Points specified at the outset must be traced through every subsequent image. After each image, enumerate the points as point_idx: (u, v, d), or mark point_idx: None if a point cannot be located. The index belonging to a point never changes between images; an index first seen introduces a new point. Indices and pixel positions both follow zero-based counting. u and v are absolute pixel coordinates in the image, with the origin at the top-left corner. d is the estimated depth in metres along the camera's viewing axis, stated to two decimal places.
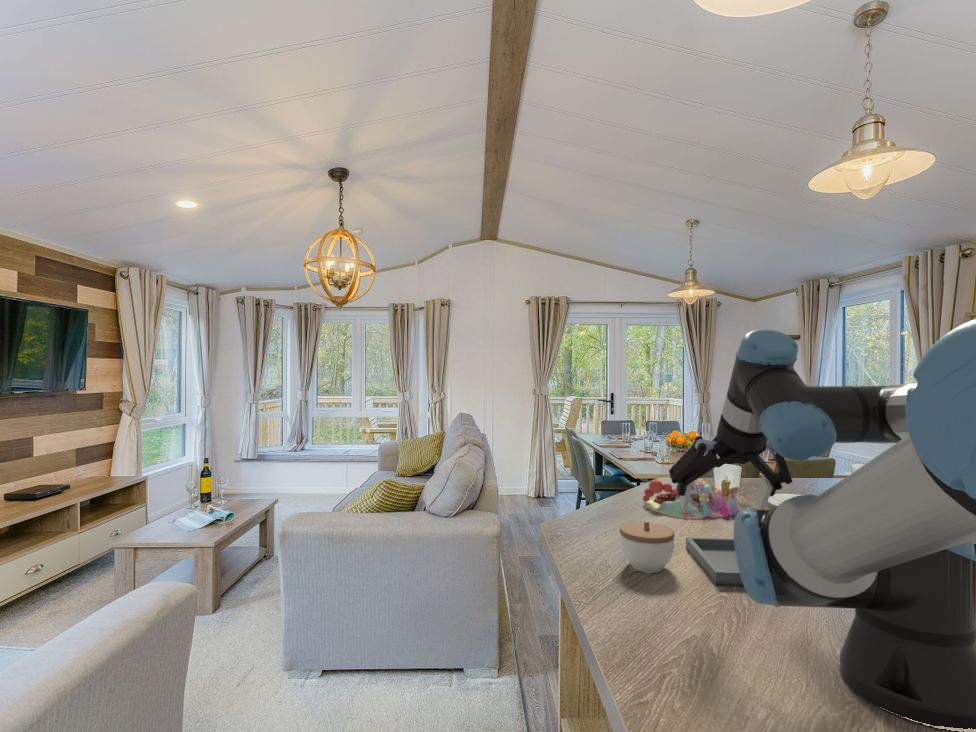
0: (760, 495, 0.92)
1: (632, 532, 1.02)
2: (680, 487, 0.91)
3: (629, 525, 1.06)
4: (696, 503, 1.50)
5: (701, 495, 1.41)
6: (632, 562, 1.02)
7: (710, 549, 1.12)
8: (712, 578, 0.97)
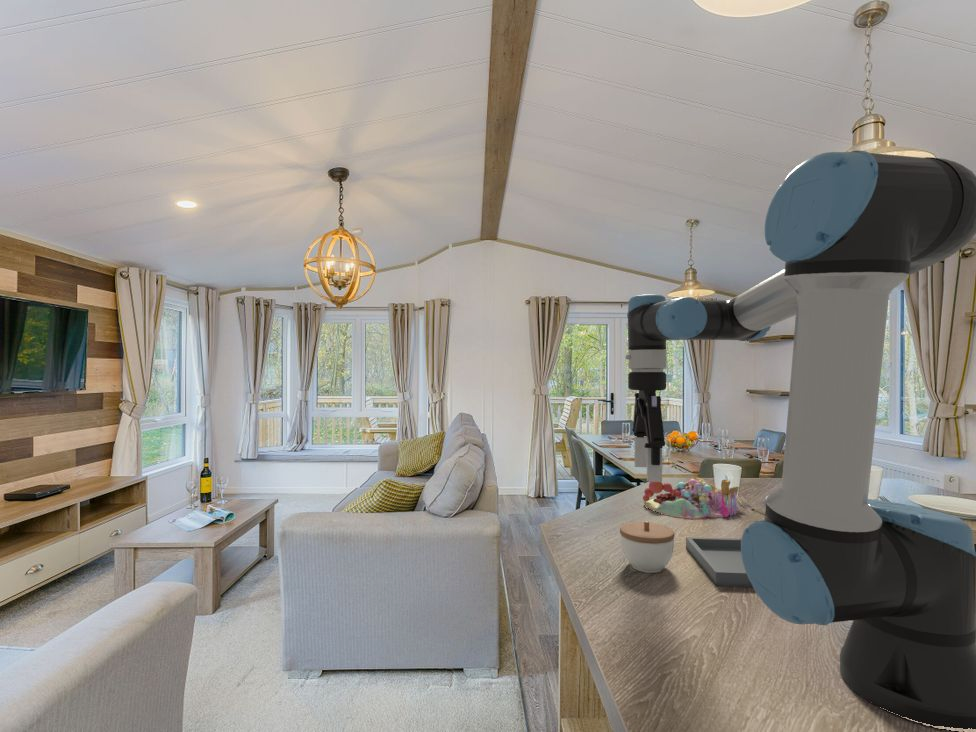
0: (641, 454, 1.11)
1: (632, 532, 1.02)
2: (659, 453, 0.96)
3: (629, 525, 1.06)
4: (696, 502, 1.50)
5: (701, 495, 1.42)
6: (632, 562, 1.02)
7: (710, 549, 1.12)
8: (712, 578, 0.97)
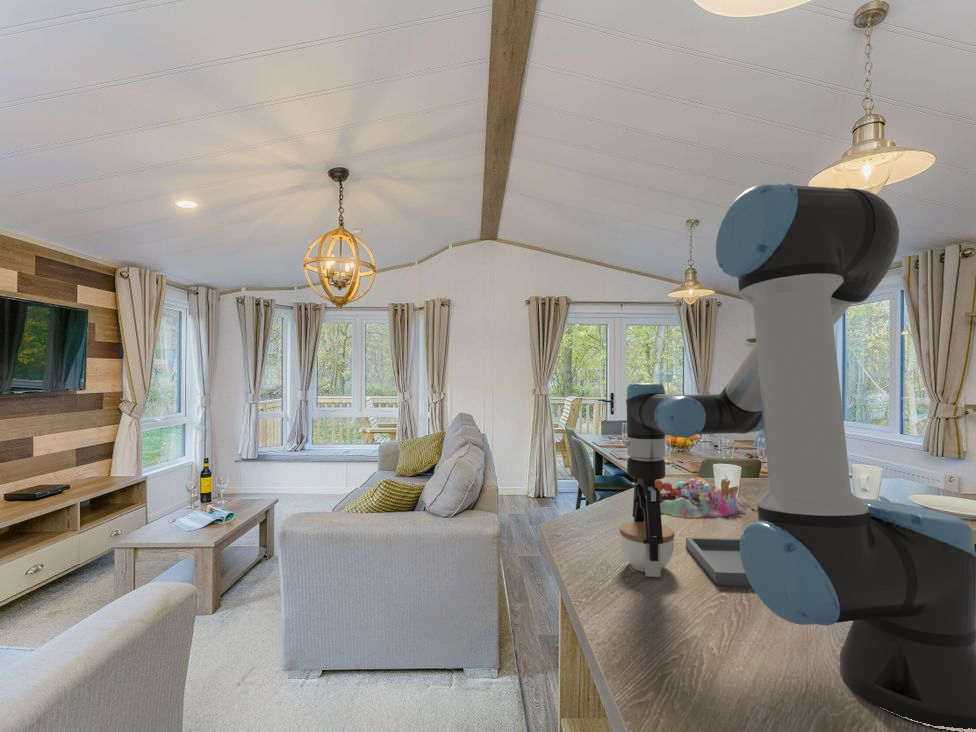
0: None
1: (632, 532, 1.02)
2: (657, 549, 0.97)
3: (629, 525, 1.06)
4: (696, 502, 1.51)
5: (701, 494, 1.43)
6: (632, 562, 1.02)
7: (710, 549, 1.12)
8: (712, 578, 0.97)
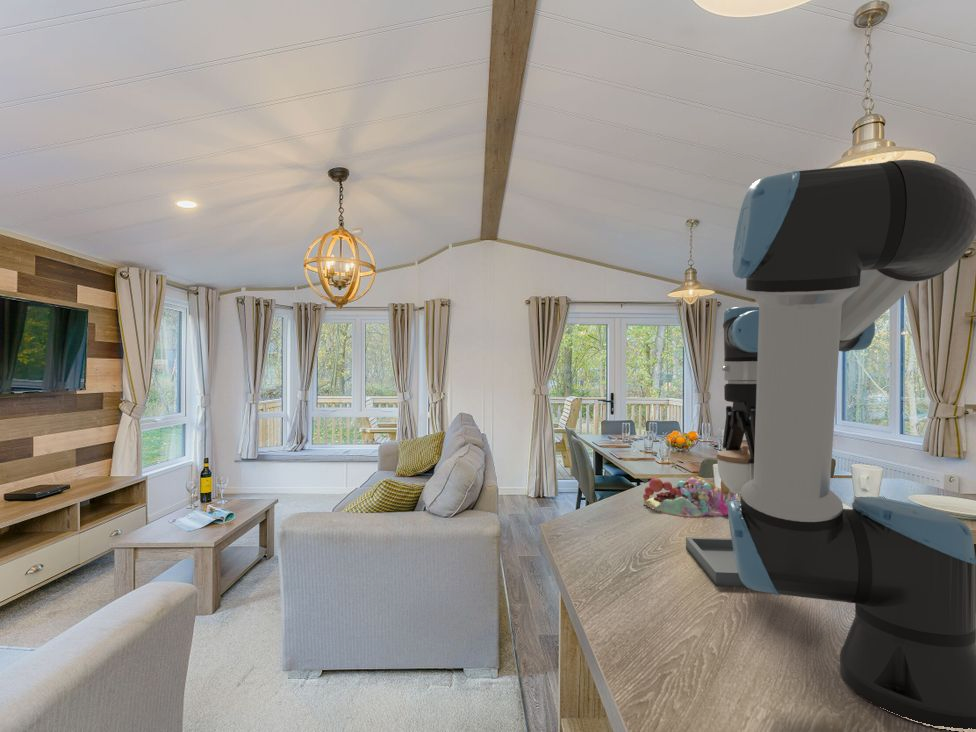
0: None
1: (733, 455, 1.01)
2: None
3: (725, 452, 1.06)
4: (696, 501, 1.52)
5: (700, 493, 1.43)
6: (733, 485, 1.01)
7: (710, 549, 1.12)
8: (712, 578, 0.97)
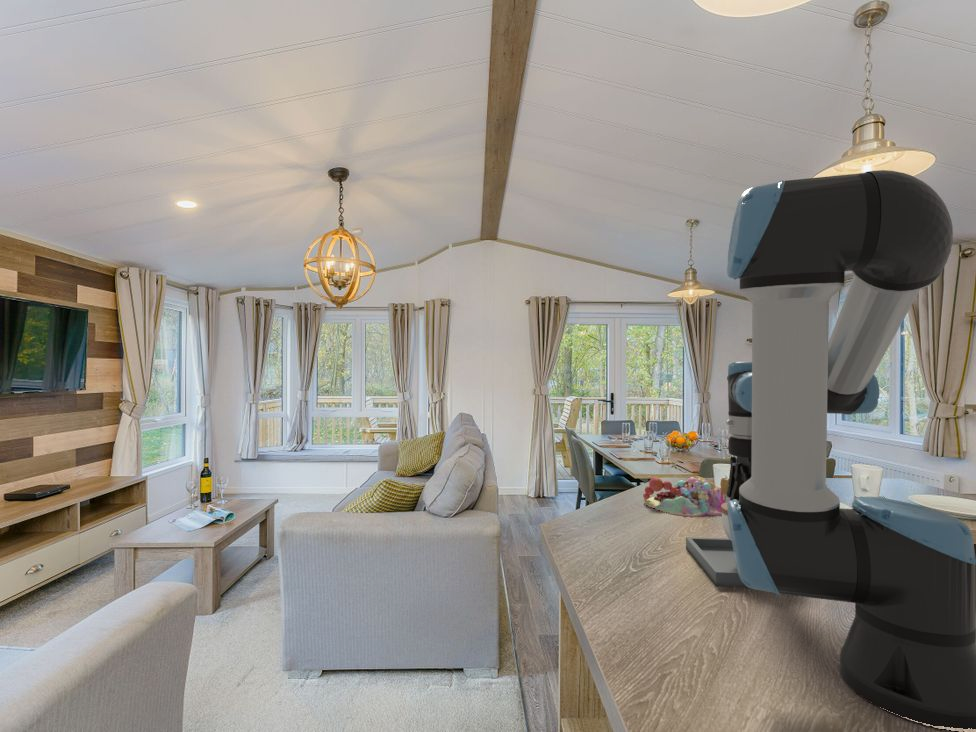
0: None
1: None
2: None
3: None
4: (696, 500, 1.52)
5: (700, 493, 1.44)
6: None
7: (710, 549, 1.12)
8: (712, 578, 0.97)
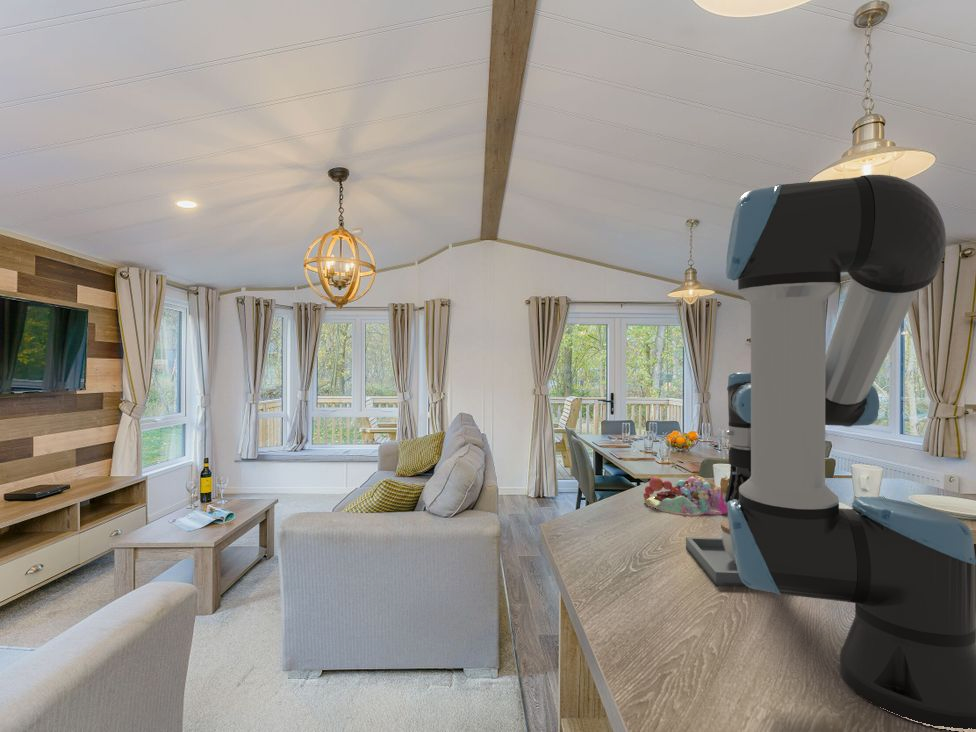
0: None
1: None
2: None
3: None
4: (696, 500, 1.53)
5: (700, 492, 1.45)
6: None
7: (710, 549, 1.12)
8: (712, 578, 0.97)
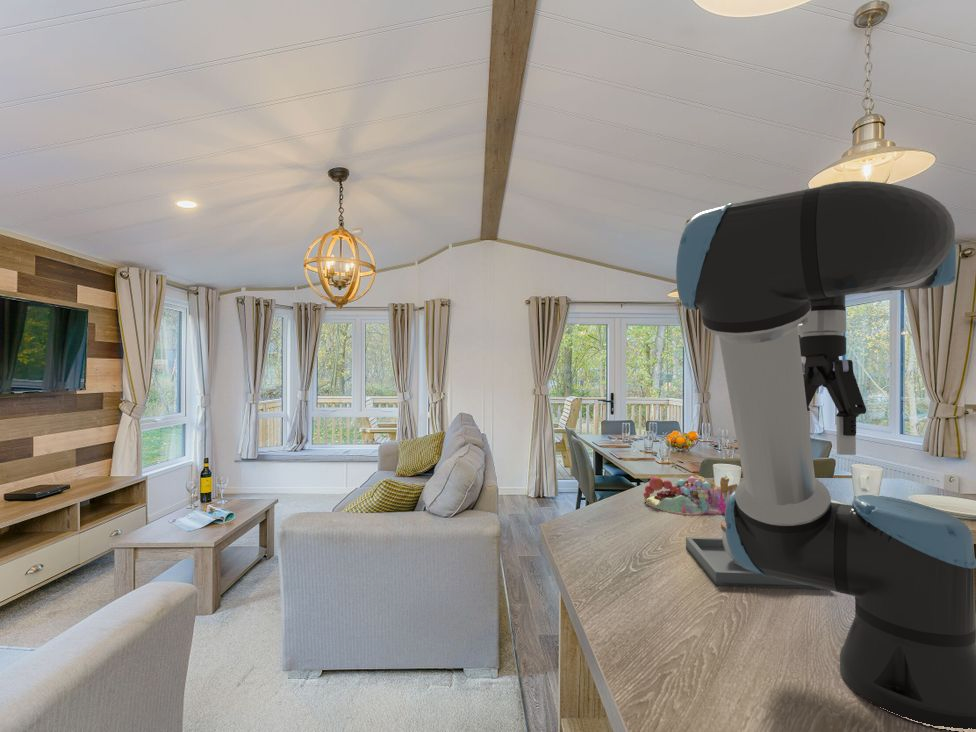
0: None
1: None
2: (855, 423, 0.86)
3: None
4: (695, 499, 1.53)
5: (700, 492, 1.45)
6: None
7: (710, 549, 1.12)
8: (712, 578, 0.97)
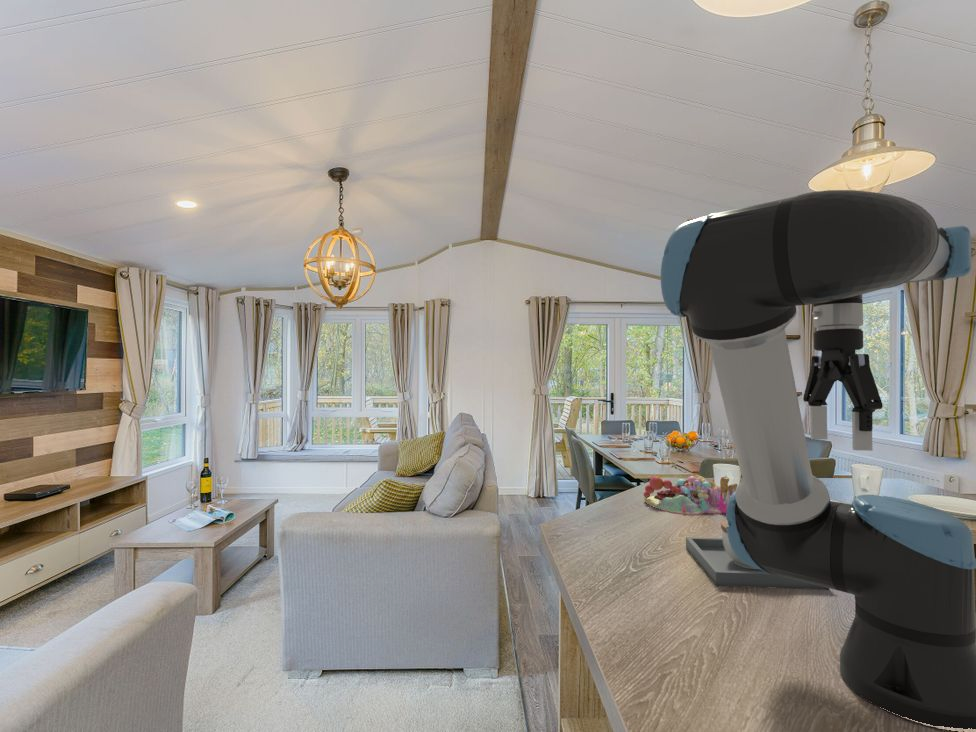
0: (820, 424, 0.99)
1: None
2: (871, 418, 0.85)
3: None
4: (695, 499, 1.54)
5: (700, 491, 1.46)
6: (737, 559, 1.01)
7: (710, 549, 1.12)
8: (712, 578, 0.97)
